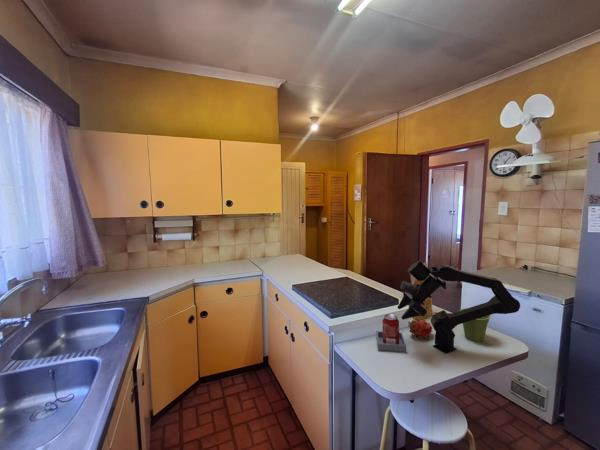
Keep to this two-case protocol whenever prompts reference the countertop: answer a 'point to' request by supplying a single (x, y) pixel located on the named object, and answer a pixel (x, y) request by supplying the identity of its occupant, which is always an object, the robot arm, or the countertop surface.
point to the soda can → (390, 329)
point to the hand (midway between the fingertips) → (400, 313)
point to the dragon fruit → (420, 328)
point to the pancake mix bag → (427, 302)
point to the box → (390, 347)
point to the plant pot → (476, 328)
